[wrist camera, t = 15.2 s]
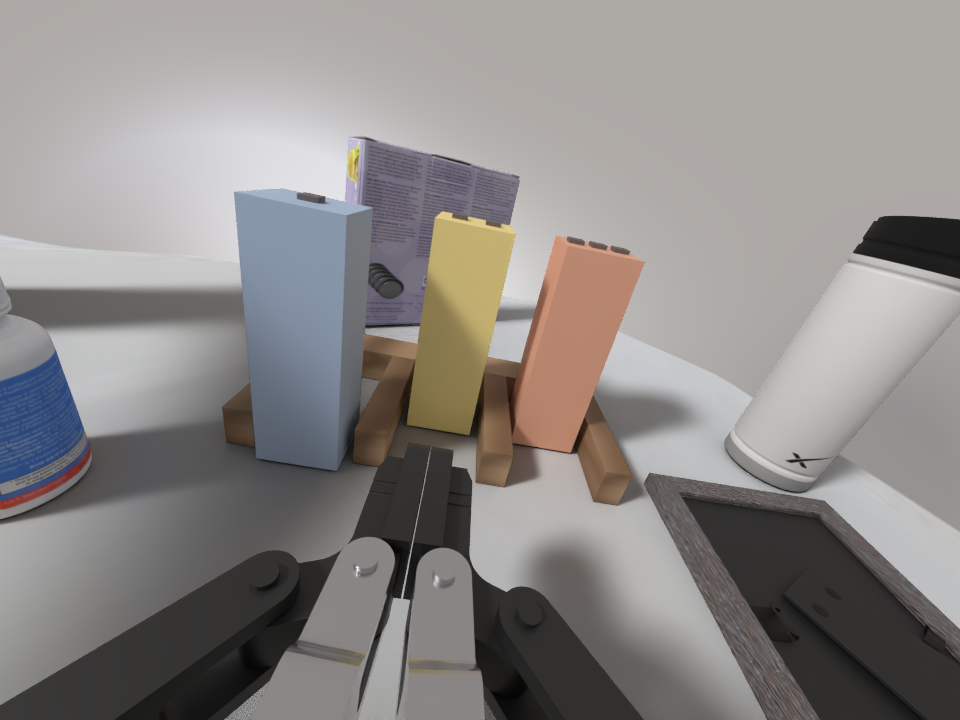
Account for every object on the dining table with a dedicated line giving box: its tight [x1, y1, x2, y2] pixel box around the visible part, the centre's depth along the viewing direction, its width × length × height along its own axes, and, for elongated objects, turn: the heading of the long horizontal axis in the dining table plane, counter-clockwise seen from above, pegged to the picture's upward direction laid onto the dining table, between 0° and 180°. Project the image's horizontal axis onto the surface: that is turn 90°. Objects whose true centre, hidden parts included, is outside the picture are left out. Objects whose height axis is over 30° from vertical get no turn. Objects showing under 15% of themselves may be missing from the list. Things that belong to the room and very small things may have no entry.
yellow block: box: [407, 211, 516, 435], centre depth 25 cm, size 4×4×14 cm
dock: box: [222, 334, 632, 505], centre depth 28 cm, size 24×13×2 cm, turn 89°
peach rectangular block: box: [509, 236, 644, 453], centre depth 26 cm, size 4×4×14 cm
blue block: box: [234, 189, 373, 471], centre depth 20 cm, size 4×4×14 cm
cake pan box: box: [345, 136, 520, 325], centre depth 42 cm, size 19×5×18 cm, turn 123°
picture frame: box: [644, 473, 960, 720], centre depth 18 cm, size 13×2×18 cm
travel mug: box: [724, 216, 960, 492], centre depth 27 cm, size 6×7×20 cm
